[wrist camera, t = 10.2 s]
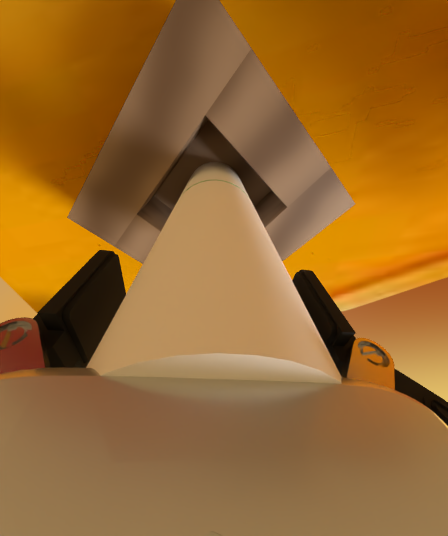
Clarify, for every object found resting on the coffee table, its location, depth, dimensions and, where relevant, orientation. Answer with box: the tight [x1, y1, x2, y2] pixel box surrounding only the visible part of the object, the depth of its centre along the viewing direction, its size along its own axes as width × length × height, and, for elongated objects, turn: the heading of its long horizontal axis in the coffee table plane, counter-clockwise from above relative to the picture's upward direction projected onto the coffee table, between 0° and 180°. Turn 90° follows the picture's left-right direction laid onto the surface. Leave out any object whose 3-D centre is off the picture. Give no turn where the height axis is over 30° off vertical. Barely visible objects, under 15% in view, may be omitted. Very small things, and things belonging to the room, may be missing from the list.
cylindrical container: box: [86, 162, 342, 384], centre depth 15 cm, size 7×7×25 cm
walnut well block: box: [67, 0, 355, 264], centre depth 23 cm, size 21×21×8 cm
